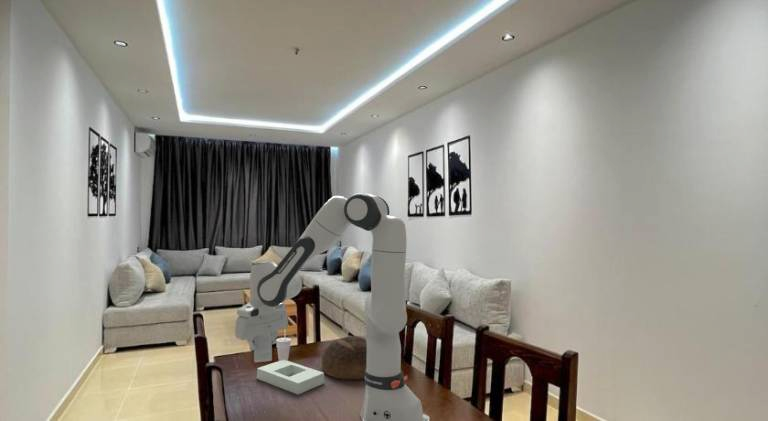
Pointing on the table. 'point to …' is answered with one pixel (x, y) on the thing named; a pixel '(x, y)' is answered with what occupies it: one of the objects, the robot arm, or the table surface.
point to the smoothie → (283, 347)
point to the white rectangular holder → (296, 383)
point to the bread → (346, 358)
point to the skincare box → (263, 346)
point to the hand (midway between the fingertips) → (262, 346)
